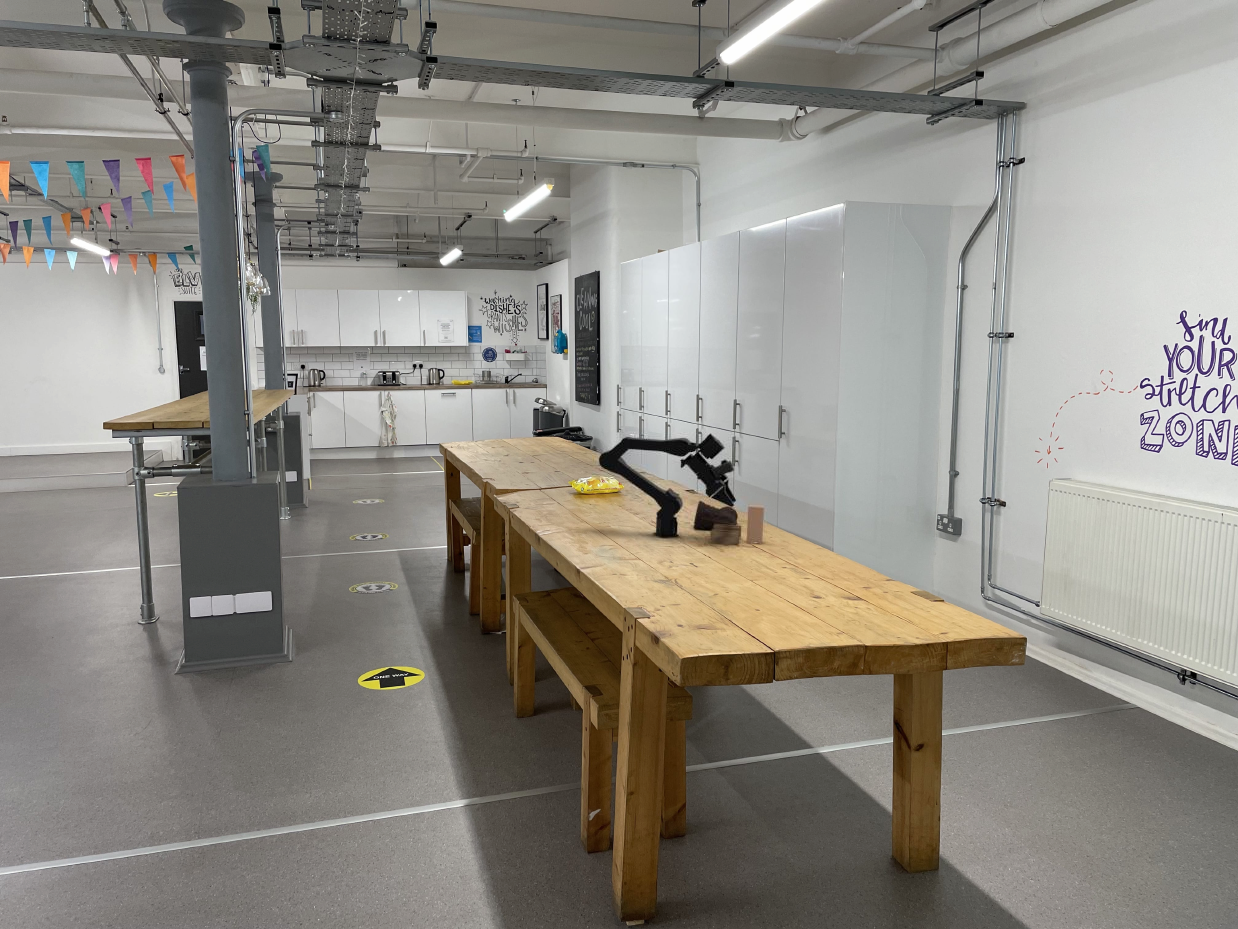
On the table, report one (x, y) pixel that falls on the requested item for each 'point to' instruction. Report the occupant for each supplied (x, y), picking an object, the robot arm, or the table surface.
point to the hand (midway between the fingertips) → (734, 503)
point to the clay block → (755, 523)
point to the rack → (725, 534)
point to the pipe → (714, 516)
